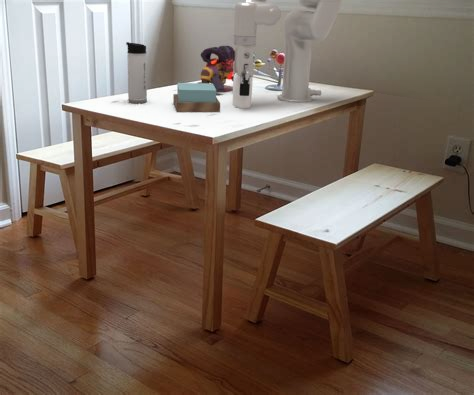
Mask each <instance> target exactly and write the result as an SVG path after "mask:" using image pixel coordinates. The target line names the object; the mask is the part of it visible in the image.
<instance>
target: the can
mask: <svg viewBox="0 0 474 395" xmlns="http://www.w3.org/2000/svg"><path fill="white" fill-rule="evenodd" d="M234 73H235V74H234ZM234 73H233V75H234V78H233V81H232V82H233V84H232V106H234V107H235V108H237V109H249V108H251V107H252V99H253V98H252V97H253V82H254V81H253V78H254V77H250V75H249V78H250V89H249V96H240V95H239V93H240V83H241V77H239V76H238V75H237V72H236V71H234Z"/></svg>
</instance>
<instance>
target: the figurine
mask: <svg viewBox="0 0 474 395" xmlns="http://www.w3.org/2000/svg"><path fill="white" fill-rule="evenodd" d="M212 54H213V55H215V56H217V57H215V58H214V57H213V58H212ZM200 57H201V59H202V61H203V62H204V63H205V66H204V67H203V68H202V70H201V71H200V76H199V77H200V81H198V82H197V83H210V84H213V85H214V87H215V89H216V93H230V92H233V86H230V85H226V82H227V80H228V81H229V80H231V82H233V78H234V74H235V71H234V64H235V49H234V47H232V46H231V45H220V46H213V47H212V46H211V47H208V48H205V49H204V50H202V52H200Z"/></svg>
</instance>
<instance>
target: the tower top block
mask: <svg viewBox="0 0 474 395" xmlns="http://www.w3.org/2000/svg"><path fill="white" fill-rule="evenodd" d="M176 87H177V93H176V94H177V95H178V100H179V102H208V103H216V98H217V92H216V89H215V87H214V85H213V84H211V83H198V82H195V83H194V82H177V86H176Z"/></svg>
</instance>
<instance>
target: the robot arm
mask: <svg viewBox="0 0 474 395" xmlns="http://www.w3.org/2000/svg"><path fill="white" fill-rule="evenodd" d="M298 1H299V4H300V6H301V7H302V8H304V9H307V10H303V9H302V10H301V9H295V10H291V11H290V12H288V13H287V14H286V16H285V18H284V20H283V34H284V56H283V71H282V85H281V88H282V89H281V93H280V94H278V95H277V97H276V98H277V100H278V101H280V102H285V103H290V104H291V103H292V104H294V103H295V104H304V103H305V104H306V103H311V102H312V101H313V98H312V97H313V96H315V97H319V96H321V95H322V91H321V90H316V89H311V88H310V87H309V86H310V74H311V73H310V72H311V61H312V47H311V43H310V42H311V41H313V42H320V41H321V42H322V41H323V40H325V39H326V38H327V37H328V35H329V34H330V31H331V30H332V27H333V25H334V22H335V20H336V19H337V17H338V14H339V11H340V9H341V6H342V3H343V0H298ZM311 10H312V11H311ZM281 14H282V13H281V9H280V8H279V6H278V5H276V4H275V3H273V2H269V1H268V0H245V1H240V2H239V1H238V2H236V3H235V5H234V17H233V37H232V38H233V39H232V46H233V47H235V49H234V51H235V61H234V63H233V66H234V67H233V68H234V71H233V72H235V71H236V72H237V75H238V76H239V77H241V83H240V93H239V95H240V96H249V89H250V78H249V75H250V77H253V76H254V62H255V61H254V53H255V52H254V47H256V44H257V42H256V40H257V29H258V28H257V27H258V26H259V25H260V26H264V27H271V26H272V27H273V26H275V25H276V24H278V23H279V21H280V19H281V18H282V17H281V16H282V15H281ZM253 78H254V77H253Z"/></svg>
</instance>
